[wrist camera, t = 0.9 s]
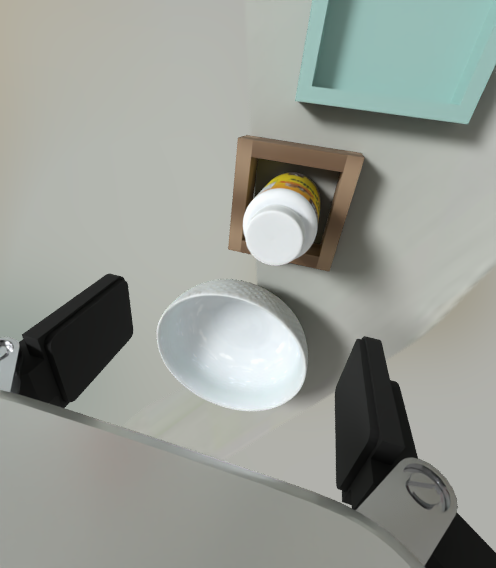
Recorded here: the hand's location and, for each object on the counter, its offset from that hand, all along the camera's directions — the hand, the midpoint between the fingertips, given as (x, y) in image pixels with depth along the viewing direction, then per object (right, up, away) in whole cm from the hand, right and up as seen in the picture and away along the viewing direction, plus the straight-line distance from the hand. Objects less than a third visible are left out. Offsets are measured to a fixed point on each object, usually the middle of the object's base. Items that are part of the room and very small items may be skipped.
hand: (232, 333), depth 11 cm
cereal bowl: (0, -3, +25) cm, 26 cm away
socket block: (+5, +10, +16) cm, 20 cm away
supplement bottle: (+5, +10, +16) cm, 20 cm away
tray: (+11, +21, +8) cm, 25 cm away
